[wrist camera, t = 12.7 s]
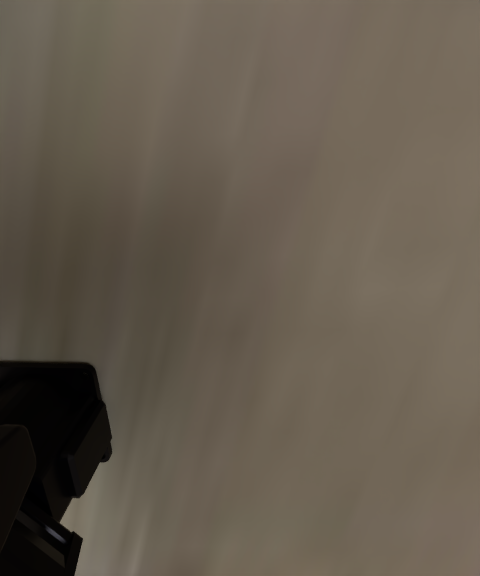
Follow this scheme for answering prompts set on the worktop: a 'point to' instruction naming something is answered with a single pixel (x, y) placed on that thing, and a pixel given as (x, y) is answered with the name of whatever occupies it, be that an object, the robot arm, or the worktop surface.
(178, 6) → the worktop surface
